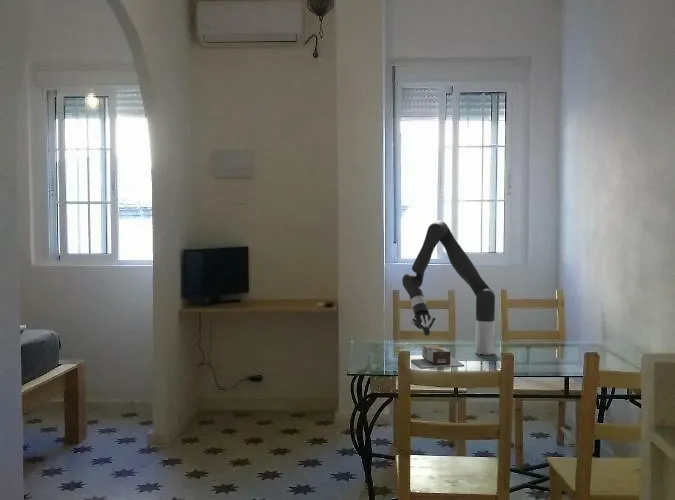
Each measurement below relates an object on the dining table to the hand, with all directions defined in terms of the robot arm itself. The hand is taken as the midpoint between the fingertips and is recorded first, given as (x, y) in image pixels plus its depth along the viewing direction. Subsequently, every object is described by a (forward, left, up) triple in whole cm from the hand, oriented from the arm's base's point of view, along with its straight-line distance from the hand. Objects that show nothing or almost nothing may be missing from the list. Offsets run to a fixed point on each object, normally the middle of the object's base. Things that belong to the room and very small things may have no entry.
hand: (427, 334), depth 387 cm
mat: (+1, +15, -11) cm, 18 cm away
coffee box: (0, +4, -7) cm, 9 cm away
